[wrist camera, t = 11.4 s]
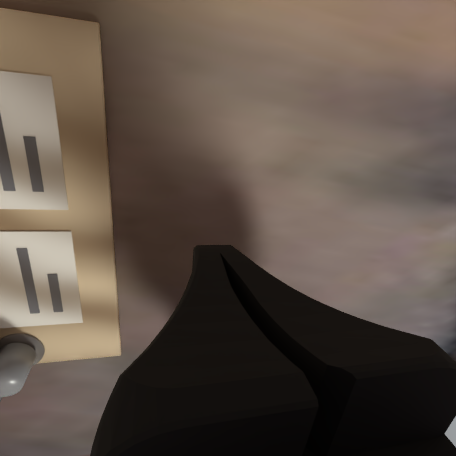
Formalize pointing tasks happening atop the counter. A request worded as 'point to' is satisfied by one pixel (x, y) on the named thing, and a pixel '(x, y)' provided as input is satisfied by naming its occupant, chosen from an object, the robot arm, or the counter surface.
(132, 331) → the counter surface
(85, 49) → the label board
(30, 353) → the grey slotted block
